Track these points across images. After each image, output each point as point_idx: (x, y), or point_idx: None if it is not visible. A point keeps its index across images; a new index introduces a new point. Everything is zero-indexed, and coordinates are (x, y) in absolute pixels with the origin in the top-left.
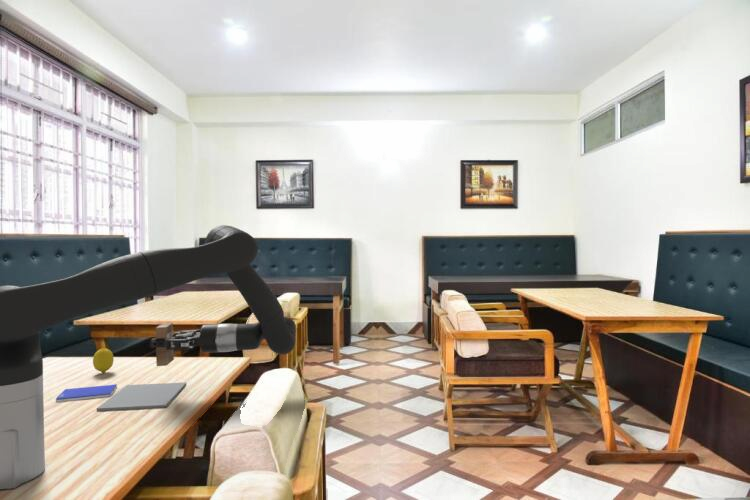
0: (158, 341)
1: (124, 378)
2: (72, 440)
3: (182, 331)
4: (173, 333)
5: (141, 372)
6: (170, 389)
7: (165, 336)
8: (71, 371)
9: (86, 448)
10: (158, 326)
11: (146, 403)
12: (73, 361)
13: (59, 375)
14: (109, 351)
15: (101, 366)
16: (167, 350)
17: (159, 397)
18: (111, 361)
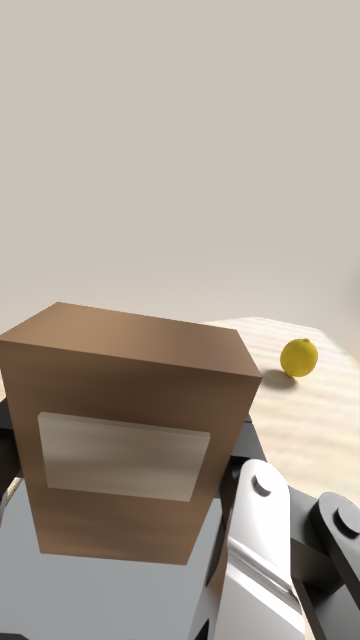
0: (6, 398)
1: (273, 409)
2: None
3: (229, 596)
4: (242, 458)
5: (322, 430)
6: (163, 596)
7: (16, 415)
8: (281, 347)
9: None
10: (104, 312)
11: (19, 526)
12: (318, 343)
13: (262, 342)
14: (309, 351)
15: (283, 363)
16: (58, 504)
17: (66, 568)
18: (301, 368)
